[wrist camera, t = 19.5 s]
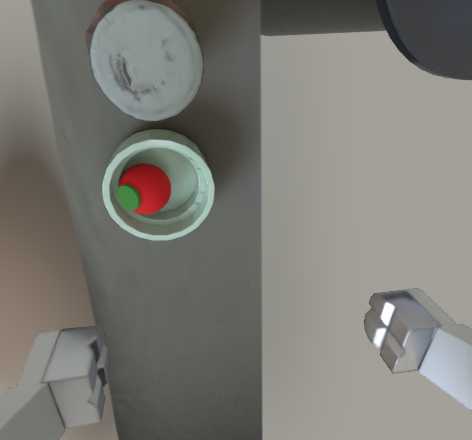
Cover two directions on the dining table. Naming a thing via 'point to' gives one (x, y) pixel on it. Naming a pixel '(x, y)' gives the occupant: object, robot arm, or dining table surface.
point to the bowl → (181, 178)
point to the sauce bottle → (145, 57)
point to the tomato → (144, 189)
